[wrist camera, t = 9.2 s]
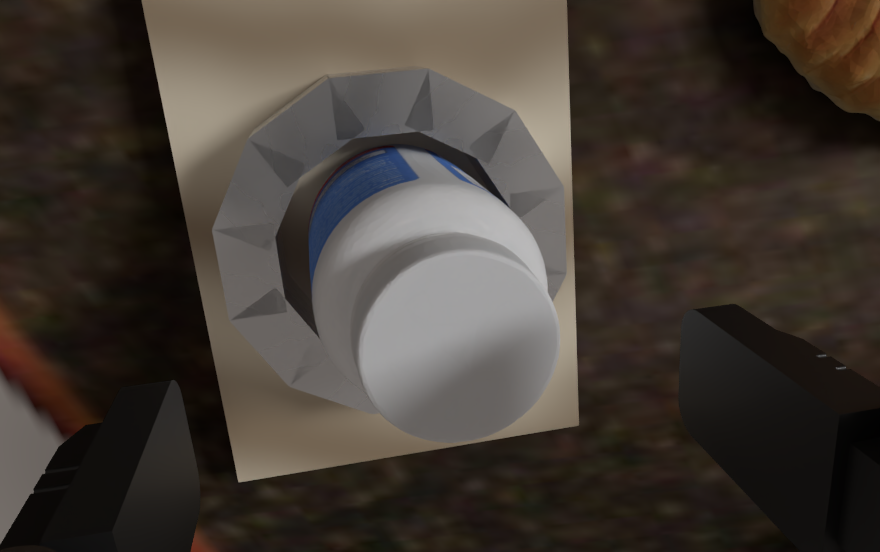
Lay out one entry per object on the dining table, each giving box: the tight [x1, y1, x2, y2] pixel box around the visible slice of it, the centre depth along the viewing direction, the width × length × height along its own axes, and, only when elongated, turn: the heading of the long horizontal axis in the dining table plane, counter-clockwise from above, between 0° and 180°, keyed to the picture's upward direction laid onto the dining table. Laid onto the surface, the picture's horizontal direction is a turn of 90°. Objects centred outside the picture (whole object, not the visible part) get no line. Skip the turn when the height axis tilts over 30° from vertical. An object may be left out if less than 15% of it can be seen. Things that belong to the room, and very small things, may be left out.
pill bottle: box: [308, 144, 560, 443], centre depth 18 cm, size 6×5×10 cm
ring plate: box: [142, 0, 579, 482], centre depth 24 cm, size 16×12×2 cm
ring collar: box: [212, 66, 567, 414], centre depth 22 cm, size 10×10×2 cm
